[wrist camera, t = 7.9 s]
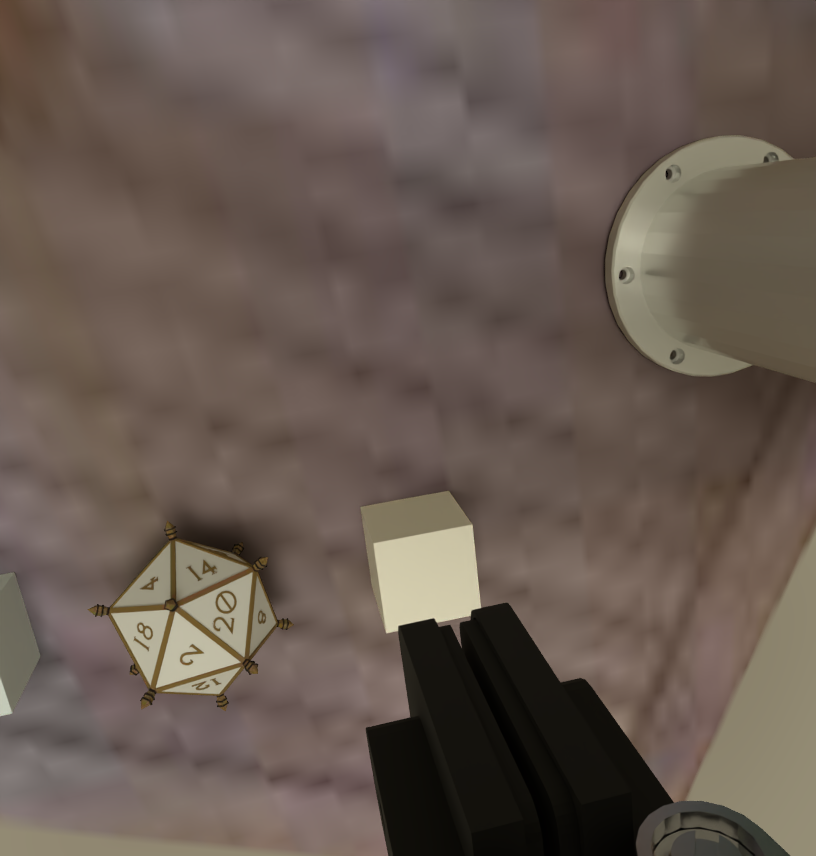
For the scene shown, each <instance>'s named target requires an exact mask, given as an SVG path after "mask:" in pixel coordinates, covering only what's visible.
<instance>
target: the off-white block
mask: <svg viewBox="0 0 816 856" xmlns="http://www.w3.org/2000/svg"><path fill="white" fill-rule="evenodd" d="M360 508H361V515H362V522H363V529H364V536H365V542H366V549H367V556H368V563H369V570H370V577H371V583H372V589H373V592H374V596H375V599H376V602H377V605H378V608H379V612H380V615H381V618H382V621H383V624H384V628H385V631H386V633H390V632H395V631H398V626H399V625H404V624H409V623H413V622H418V621H423V620H427V619H432V618H434V619H435V620H436V622H437V623H438V622H442V621H447V620H452V619H457V618H462V617H466V616H471V611H472V610H474V609H479V608H481V604H480V595H479V585H478V575H477V565H476V555H475V545H474V535H473V525H472V523H471V522H470V520H469V519H468V517H467V516H466V515H465V513H464V512H463V510H462V509H461V508H460V506H459V505H458V503H457V502H456V500H455V499H454V498H453V496H452V495H451V493H450V492H449V491H444V492H439V493H433V494H428V495H422V496H417V497H411V498H406V499H400V500H395V501H389V502H384V503H379V504H373V505H368V506H362V507H360Z"/></svg>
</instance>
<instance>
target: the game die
mask: <svg viewBox="0 0 816 856" xmlns="http://www.w3.org/2000/svg"><path fill="white" fill-rule="evenodd" d="M175 528H176V526H173V525H172V524H171V523H169V522H168V521H167V523H166V527H165V529H164V531H166V536H168V537H169V541H168V542H167V543H166V544H165V545H164V546H163V548H162V549H161V550H160V551H159V552H158V553H157V554H156V555H155V557H154V558H153V559H152V560H151V561H150V562H149V563H148V564H147V566H146V567H145V568H144V569H143V570H142V571H141V572H140V574H139V575H138V576H137V577H136V578H135V579H134V580H133V581H132V583H131V584H130V585H129V586H128V587H127V588H126V589H125V590H124V592H123V593H122V594H121V595H120V596H119V597H118V598H117V599H116V601H115V602H114V603H113V604H112V605H111V606H110V607H105V606H104V605H102V606H100V605H98V604H97V605H96V606H94V607H92V608H90V609H88V610H89V611H90V612H91V613H93V614H94V615H95V617H96V616H101V617H102V616H103V615H108V616H109V618H110V619H111V621H112V623H113V625H114V627H115V629H116V630H117V632H118V634H119V636H120V638H121V640H122V641H123V643H124V645H125V647H126V649H127V651H128V652H129V654H130V656H131V658H132V660H133V662H134V665H131V668H130V675H137V674H138V673H140V675H141V676H142V678H143V680H144V682H145V684H146V686H147V687H148V689H149V691H148V692H147V693H145V694H144V697H142V698H141V700H140V701H141V709H143V708H145V707H147V706H149V705H152V701H153V700H155V698H154V696H155V694H156V693H166V694H189V695H213V696H217V701H216V703H218V705H217V707H220V708H221V709H223V710H224V711H226V708H227V704H229V703H228V701H227V698H226V696H224V692H225V691H226V690H227V689H228V687H229V686H230V685H231V684H232V683H233V681H234V680H235V679H236V678H237V676H238V675H239V674H240V673H241V672H242V670H243V669H244V668H245V669H246V671H248V673H249V675H251V674H258V668H257V667H258V664H255V662H254V661H250V660H251V659H252V658H253V657H254V655H255V654H256V653H257V652H258V650H259V649H260V648H261V646H262V645H263V644H264V643H265V641H266V640H267V639H268V638H269V636H270V635H271V634H272V633H273V631H274V630H275V629H276V627H280V628H281V629H283V628H284V629H286V630H287V629H288V628H290V627H291V626H293V625H294V624H292V623H291V622H290V621H289V620H288V618H287V619H284V618H283V619H282V620H277V618H276V615H275V613H274V610H273V608H272V605H271V603H270V600H269V598H268V595H267V593H266V590H265V588H264V585H263V583H262V580H261V578H260V575H259V573H258V570H260V569H261V570H263V568H264V567H267V560H268V557H260V558H259V559H258V560H257V561H256V562H254V565H252V564H250V563H249V562H247V561H246V560H244V559H243V558H241V557H240V556H238V555H240V554H241V552H242V551H243V549H244V547H243V543H242V542H241V543H239V544H235V545H234V548H232V550H233V552H229V551H225V550H221V549H217V548H213V547H210V546H206V545H202V544H198V543H194V542H191V541H187V540H183V539H179V538H177V537H176V532H177V531H176V530H175Z"/></svg>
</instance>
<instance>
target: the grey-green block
mask: <svg viewBox="0 0 816 856" xmlns="http://www.w3.org/2000/svg"><path fill="white" fill-rule="evenodd" d="M39 658H40V653H39V649H38V646H37V643H36V640H35V637H34V633H33V630H32V627H31V624H30V620H29V617H28V614H27V611H26V608H25V604H24V601H23V598H22V595H21V591H20V588H19V585H18V582H17V579H16V575H15V572H12V573H7V574H2V575H0V716H3V715H7V714H12V713H13V711H14V709H15V707H16V705H17V703H18V701H19V699H20V697H21V695H22V693H23V691H24V689H25V687H26V685H27V683H28V681H29V679H30V677H31V675H32V673H33V671H34V668H35V666H36V664H37V662H38V660H39Z"/></svg>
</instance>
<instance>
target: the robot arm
mask: <svg viewBox="0 0 816 856" xmlns="http://www.w3.org/2000/svg"><path fill="white" fill-rule="evenodd" d="M763 161H764V162H763ZM666 170H667V171H668V177H667V178H666V176H665V173H666ZM621 270H622V272H623V276H622V277H621V278H620V279H619V273H620V271H621ZM605 283H606V289H607V294H608V299H609V304H610V307H611V309H612V312H613V314H614V317H615V320H616V322H617V324H618V326H619V327H620V329H621V330H622V332H623V334H624V335H625V337H626V338H627V340H628V341H629V342H630V343H631V344H632V345H633V346H634V347H635V348H636V349H637V350H638V351H639V352H640V353H641V354H642V355H643V356H645V357H646V358H648V359H650V360H651V361H653V362H654V363H656V364H657V365H659V366H662V367H664V368H667V369H669V370H672V371H675V372H679V373H683V374H687V375H691V376H708V377H713V376H719V375H725V374H731V373H734V372H737V371H739V370H742V369H745V368H747V367H750V366H752V365H756V366H759V367H763V368H766V369H769V370H773V371H776V372H780V373H783V374H786V375H790V376H793V377H797V378H800V379H803V380H807V381H810V382H814V383H816V157H811V158H802V159H794V158H792V157H791V156H790V155H789V154H787V153H786V152H785V151H784V150H782V149H781V148H779V147H777V146H775V145H773V144H771V143H769V142H766V141H764V140H762V139H757V138H752V137H748V136H743V135H736V136H717V137H711V138H706V139H701V140H698V141H695V142H693V143H690V144H687V145H684V146H681V147H679V148H678V149H676V150H674V151H673V152H671V153H669V154H668V155H666V156H664V157H662V158H661V159H660V160H659V161H658V162H656V163H655V164H654V165H653V166H652V167H651V168H650V169H648V170H647V171H646V172H645V173H644V174H643V175H642V176H641V178H640V179H639V180H638V181H637V183H636V184H635V185H634V186H633V188H632V189H631V190H630V191H629V193H628V195H627V196H626V198H625V200H624V202H623V204H622V205H621V207H620V209H619V211H618V213H617V215H616V218H615V221H614V224H613V227H612V229H611V232H610V235H609V240H608V246H607V252H606V258H605ZM671 352H672V356H671V357H670V354H671ZM398 634H399V641H400V648H401V655H402V662H403V669H404V676H405V683H406V690H407V696H408V703H409V710H410V717H411V718H406V719H402V720H398V721H393V722H389V723H385V724H380V725H376V726H372V727H368V728H366V734H367V741H368V747H369V753H370V759H371V765H372V771H373V777H374V783H375V788H376V794H377V799H378V805H379V810H380V815H381V821H382V826H383V831H384V836H385V841H386V846H387V851H388V856H790V855H789V854H788V853H787V852H786V851H785V850H784V849H783V848H782V847H781V846H780V845H778V844H777V843H776V842H775V841H774V840H773V839H772V838H771V837H770V836H769V835H768V834H767V833H766V832H765V831H764V830H763V829H761V828H760V827H759V826H758V825H756V824H755V823H754V822H752V821H751V820H749V819H748V818H747V817H745V816H744V815H742V814H740V813H738V812H735V811H733V810H731V809H729V808H727V807H725V806H722V805H717V804H713V803H708V802H704V801H680V802H676V803H674V802H673V801H672V799H671V798H670V796H669V795H668V794H667V792H666V791H665V789H664V788H663V787H662V785H661V784H660V782H659V781H658V780H657V778H656V777H655V775H654V774H653V773H652V771H651V770H650V768H649V767H648V766H647V764H646V763H645V761H644V760H643V759H642V757H641V756H640V754H639V753H638V752H637V750H636V749H635V747H634V746H633V745H632V743H631V742H630V740H629V739H628V737H627V736H626V735H625V733H624V732H623V730H622V729H621V728H620V726H619V725H618V723H617V722H616V721H615V719H614V718H613V716H612V715H611V714H610V712H609V711H608V709H607V708H606V707H605V705H604V704H603V702H602V701H601V700H600V698H599V697H598V695H597V694H596V693H595V691H594V690H593V688H592V687H591V686H590V685H589V683H588V682H587V681H586V680H584V679H582V678H579V679H574V680H570V681H566V682H561V683H560V681H559V680H558V678H557V677H556V675H555V674H554V672H553V670H552V669H551V667H550V666H549V664H548V663H547V661H546V660H545V658H544V657H543V655H542V654H541V652H540V651H539V649H538V647H537V646H536V644H535V643H534V641H533V640H532V638H531V637H530V635H529V634H528V632H527V631H526V629H525V627H524V626H523V624H522V623H521V621H520V620H519V618H518V617H517V615H516V614H515V612H514V611H513V609H512V608H511V606H510V605H509V604H508V603H502V604H498V605H493V606H488V607H484V608H479V609H474V610H472V611H471V620H470V621H465V622H461V623H460V636H461V645H462V648H461V646H460V644H459V642H458V640H457V638H456V636H455V633H454V631H453V629H452V627H451V626H450V625H447V626H442V627H438V625H437V622H436V620H435V619H434V618H432V619H427V620H423V621H418V622H413V623H409V624H404V625H399V626H398Z"/></svg>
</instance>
